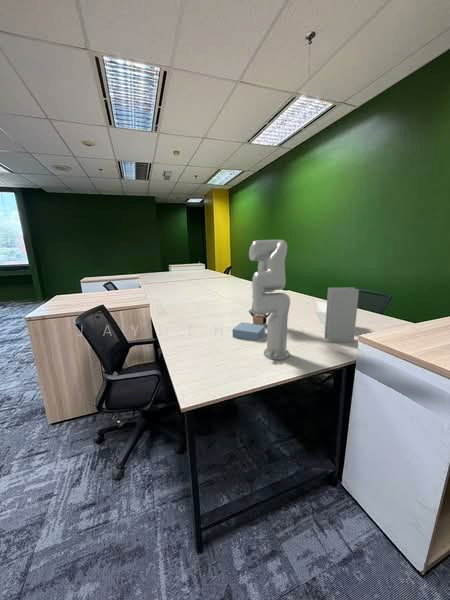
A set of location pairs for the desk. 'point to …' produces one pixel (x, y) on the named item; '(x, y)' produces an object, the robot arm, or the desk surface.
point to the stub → (258, 320)
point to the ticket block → (249, 331)
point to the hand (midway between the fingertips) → (259, 322)
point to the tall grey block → (341, 314)
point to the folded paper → (321, 311)
